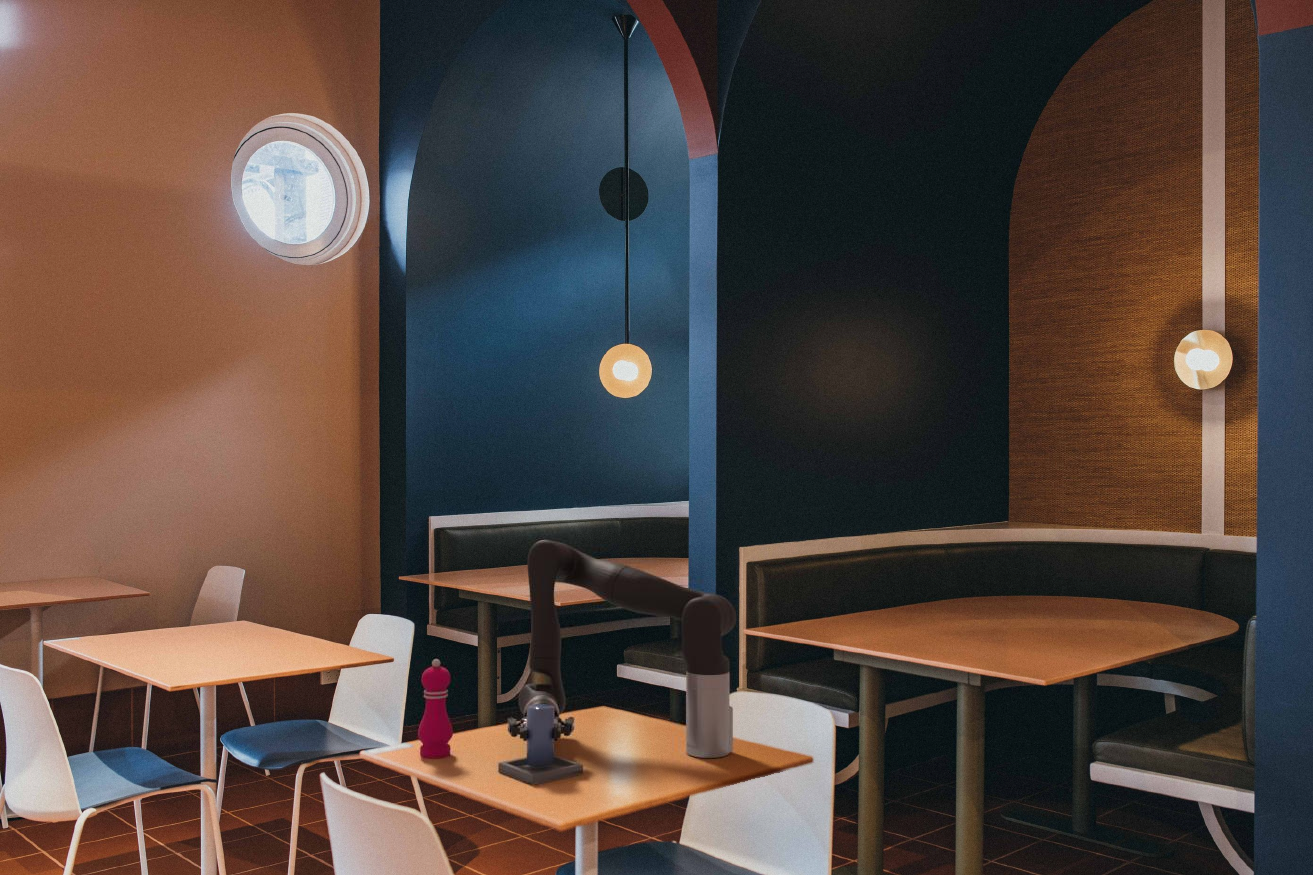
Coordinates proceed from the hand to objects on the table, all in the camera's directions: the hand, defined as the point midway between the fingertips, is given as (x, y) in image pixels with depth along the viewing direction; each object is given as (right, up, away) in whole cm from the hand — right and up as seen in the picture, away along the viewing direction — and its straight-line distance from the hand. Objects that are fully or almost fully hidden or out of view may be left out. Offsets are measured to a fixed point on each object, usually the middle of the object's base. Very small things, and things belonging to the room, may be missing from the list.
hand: (540, 735), depth 211 cm
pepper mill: (-24, -9, +16) cm, 30 cm away
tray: (0, -8, +2) cm, 8 cm away
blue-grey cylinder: (0, -6, +2) cm, 7 cm away
